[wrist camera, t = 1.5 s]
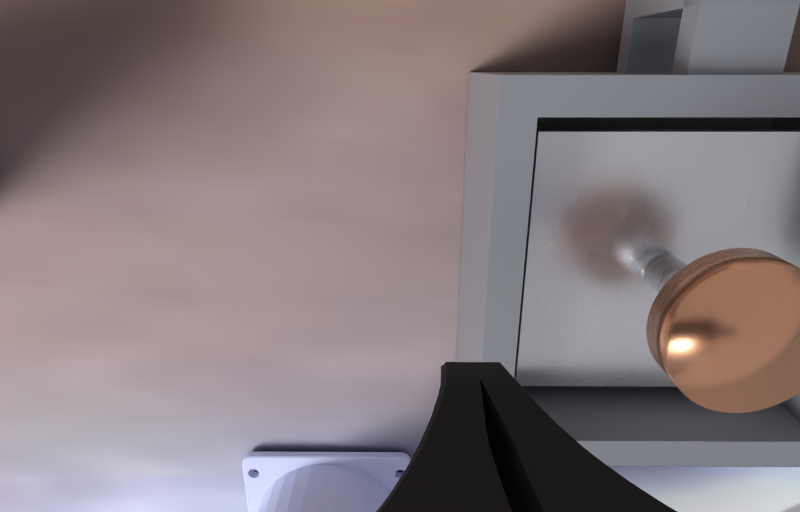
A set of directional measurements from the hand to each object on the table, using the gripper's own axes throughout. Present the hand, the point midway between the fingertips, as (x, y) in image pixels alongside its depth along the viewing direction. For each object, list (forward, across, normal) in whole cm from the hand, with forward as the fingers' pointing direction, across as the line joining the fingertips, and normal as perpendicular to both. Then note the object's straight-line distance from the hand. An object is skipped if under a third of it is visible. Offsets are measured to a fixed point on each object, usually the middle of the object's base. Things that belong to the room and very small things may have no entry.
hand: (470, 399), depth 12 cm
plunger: (+6, -7, -1) cm, 9 cm away
